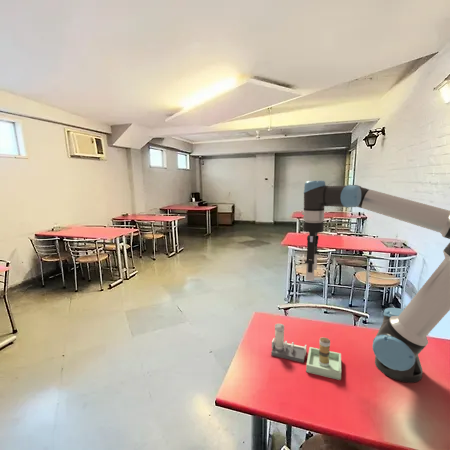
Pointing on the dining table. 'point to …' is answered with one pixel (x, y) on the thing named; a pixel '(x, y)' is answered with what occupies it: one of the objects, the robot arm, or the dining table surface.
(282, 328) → the cylinder
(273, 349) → the block
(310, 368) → the parts tray
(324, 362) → the fuse
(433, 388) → the dining table surface
